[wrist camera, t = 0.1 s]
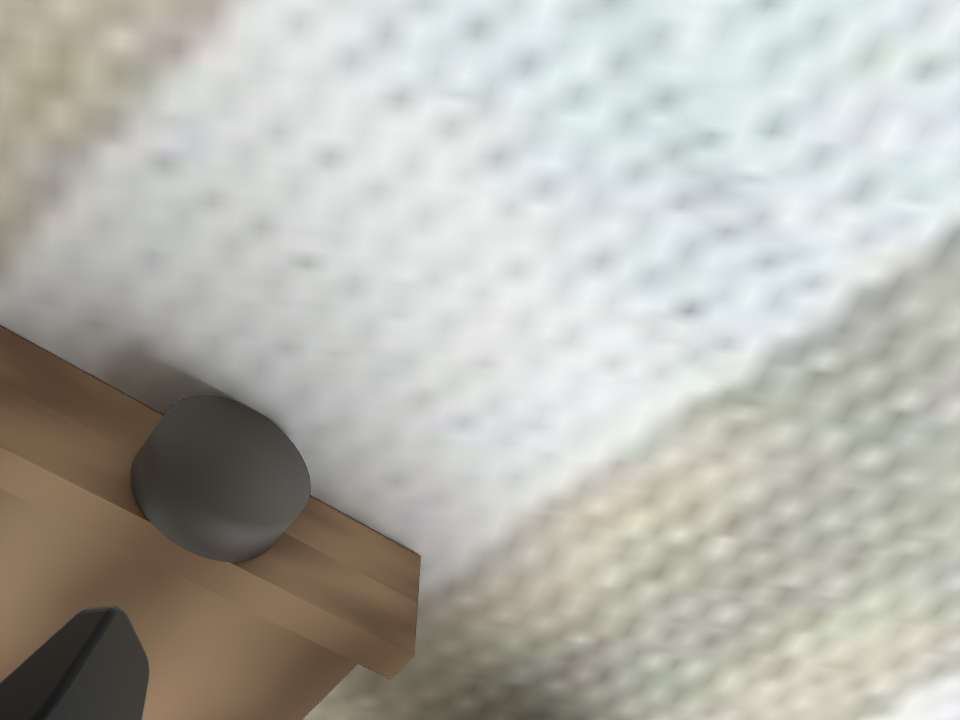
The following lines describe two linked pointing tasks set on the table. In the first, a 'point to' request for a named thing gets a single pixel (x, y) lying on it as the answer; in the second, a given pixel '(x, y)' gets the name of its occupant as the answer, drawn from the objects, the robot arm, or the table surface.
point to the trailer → (187, 546)
